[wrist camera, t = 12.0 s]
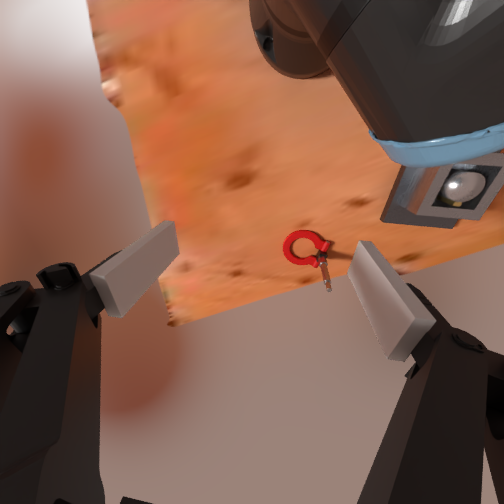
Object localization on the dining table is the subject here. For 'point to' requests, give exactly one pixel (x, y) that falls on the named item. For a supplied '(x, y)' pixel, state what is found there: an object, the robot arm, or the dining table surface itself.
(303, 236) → the tow hook
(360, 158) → the dining table surface
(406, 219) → the shaft stand
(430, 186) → the collar
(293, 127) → the dining table surface
